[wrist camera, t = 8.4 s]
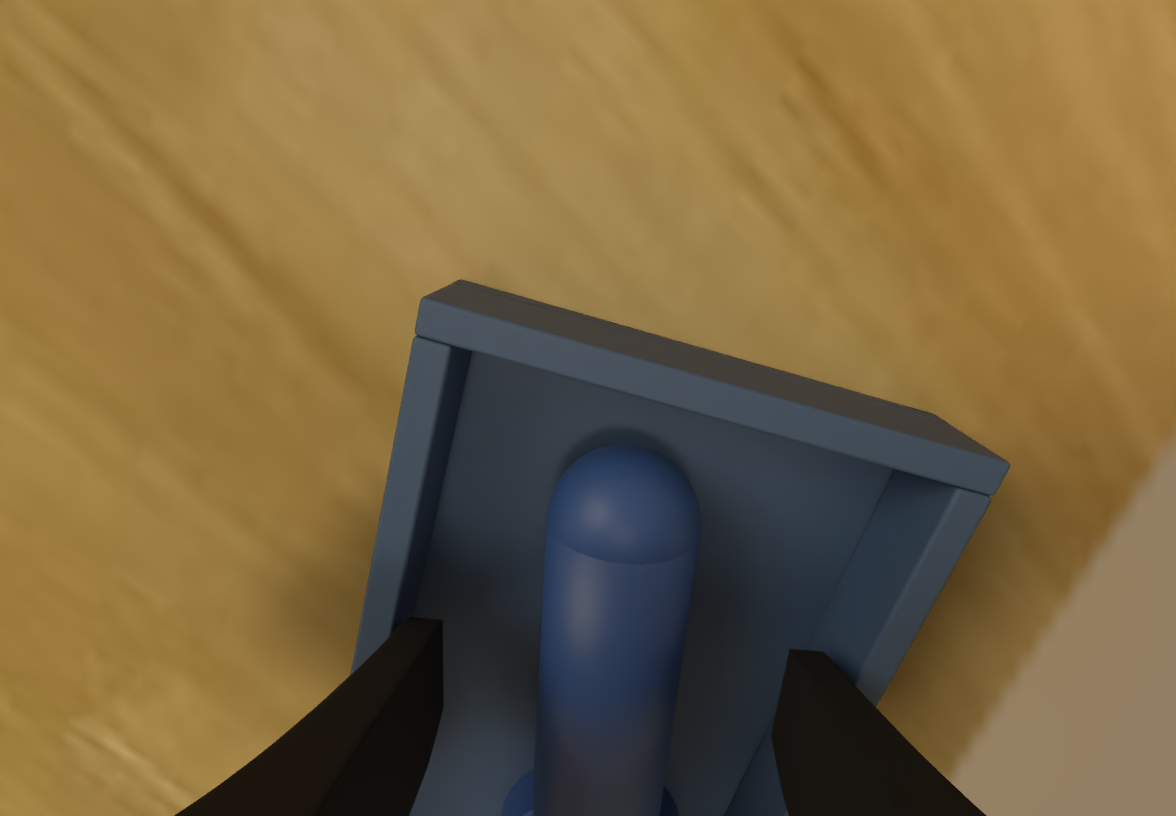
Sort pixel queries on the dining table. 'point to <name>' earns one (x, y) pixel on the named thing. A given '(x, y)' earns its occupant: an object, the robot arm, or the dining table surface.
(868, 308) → the dining table surface
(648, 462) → the blue spoon
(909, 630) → the tray
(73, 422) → the dining table surface
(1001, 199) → the dining table surface
